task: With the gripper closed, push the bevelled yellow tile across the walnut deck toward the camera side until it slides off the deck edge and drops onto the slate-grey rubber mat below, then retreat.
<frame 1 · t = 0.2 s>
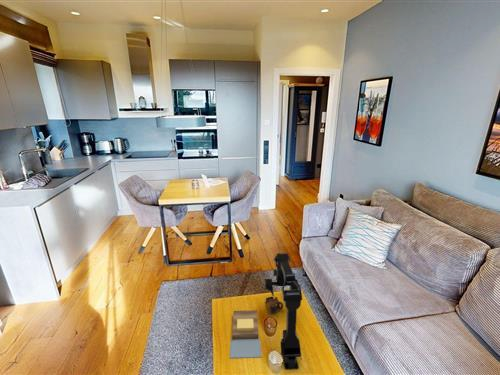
hand: (281, 296, 142), 15 cm above the table, fingers open, 9 cm apart
deck: (245, 327, 139), on the table
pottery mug: (274, 308, 152), on the table
bevelled yellow tile: (245, 326, 135), point 4 cm above the table, touching deck
mat: (245, 348, 127), on the table
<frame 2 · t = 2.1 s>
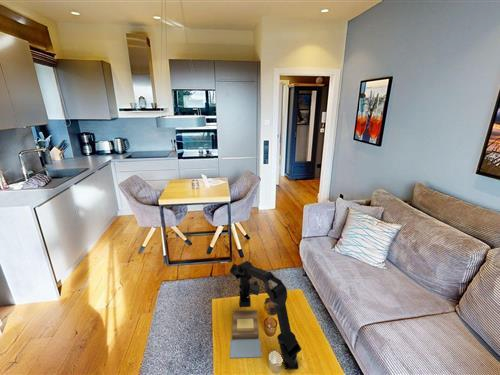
hand: (245, 304, 142), 10 cm above the table, fingers closed
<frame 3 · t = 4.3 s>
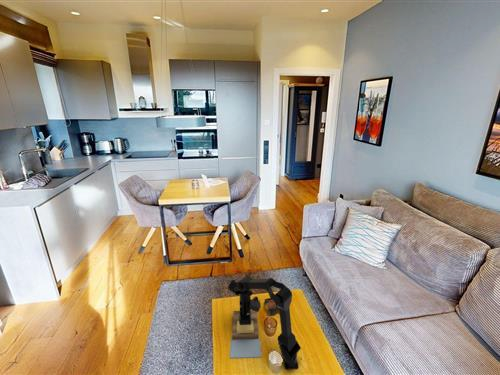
hand: (245, 320, 137), 5 cm above the table, fingers closed
bevelled yellow tile: (245, 328, 134), point 4 cm above the table, touching deck, gripper
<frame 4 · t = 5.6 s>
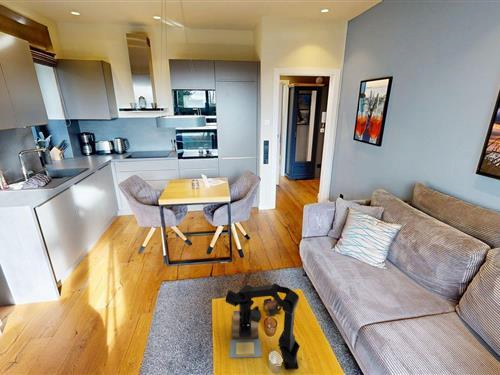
hand: (245, 331, 131), 5 cm above the table, fingers closed
bevelled yellow tile: (245, 347, 125), point 2 cm above the table, tilted 180°, touching mat
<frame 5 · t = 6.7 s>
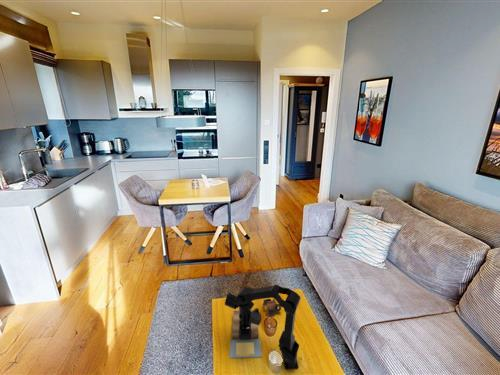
hand: (245, 334, 129), 5 cm above the table, fingers closed
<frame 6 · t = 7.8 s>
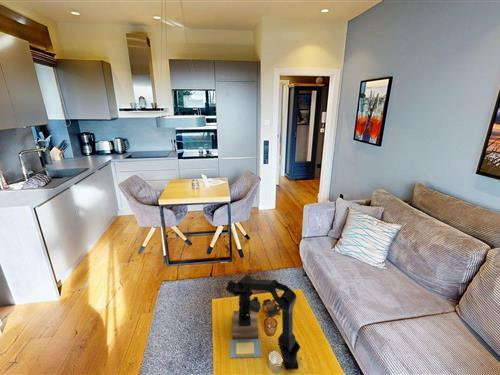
hand: (244, 321, 133), 8 cm above the table, fingers closed
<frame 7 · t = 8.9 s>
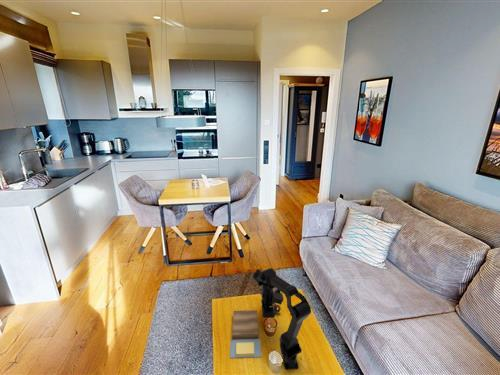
hand: (267, 314, 133), 12 cm above the table, fingers closed
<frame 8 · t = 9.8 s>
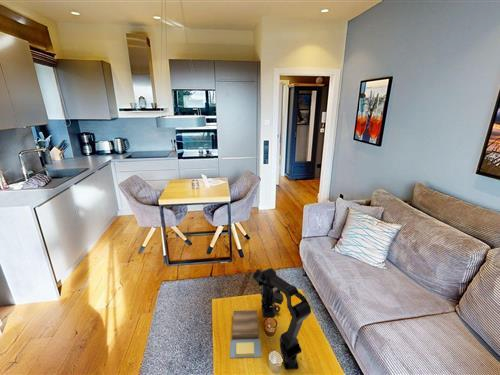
hand: (267, 314, 133), 12 cm above the table, fingers closed
at the end: bevelled yellow tile point 2.4 cm above the table; bevelled yellow tile inside the target area on the mat (1.1 cm from its centre), point 2.4 cm above the mat's base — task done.
